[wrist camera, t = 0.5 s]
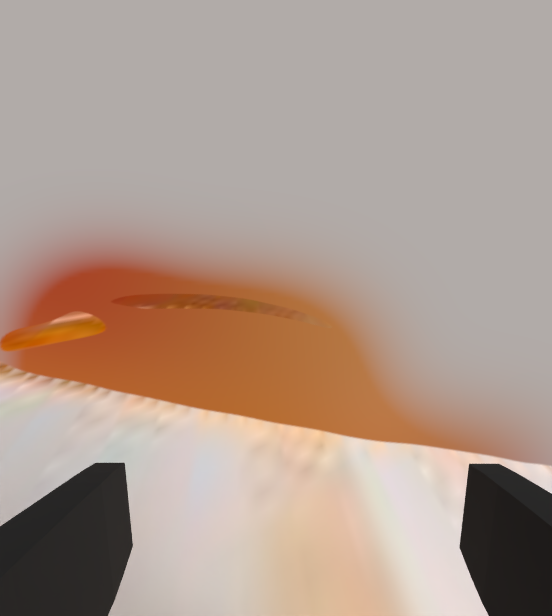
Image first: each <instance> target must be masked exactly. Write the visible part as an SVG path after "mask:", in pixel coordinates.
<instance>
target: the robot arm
mask: <svg viewBox="0 0 552 616" xmlns="http://www.w3.org/2000/svg"><path fill="white" fill-rule="evenodd" d="M132 546H133V544H132V533H131V523H130V513H129V503H128V492H127V482H126V472H125V463H95V464H93V465H91V466H90V467H88V468H86V469H85V470H83V471H82V472H80V473H79V474H77V475H76V476H74V477H72V478H71V479H69V480H68V481H67V482H65V483H64V484H62V485H61V486H59V487H58V488H56V489H55V490H53V491H52V492H50V493H49V494H47V495H46V496H45V497H43V498H42V499H40V500H39V501H37V502H36V503H34V504H33V505H31V506H30V507H28V508H27V509H25V510H24V511H22V512H21V513H19V514H18V515H16V516H15V517H14V518H12V519H11V520H9V521H8V522H6V523H5V524H3V525H2V526H0V616H108V614H109V611H110V609H111V607H112V605H113V602H114V600H115V597H116V594H117V592H118V589H119V586H120V583H121V580H122V577H123V574H124V571H125V568H126V565H127V562H128V559H129V556H130V553H131V550H132ZM460 550H461V552H462V555H463V557H464V560H465V562H466V565H467V568H468V570H469V573H470V575H471V578H472V580H473V582H474V585H475V587H476V589H477V592H478V594H479V596H480V599H481V601H482V603H483V605H484V607H485V609H486V611H487V613H488V615H489V616H552V494H551V493H549V492H548V491H546V490H544V489H543V488H541V487H539V486H538V485H536V484H534V483H533V482H531V481H529V480H527V479H526V478H524V477H522V476H521V475H519V474H517V473H515V472H513V471H512V470H510V469H508V468H506V467H504V466H502V465H500V464H469V470H468V479H467V487H466V496H465V505H464V514H463V522H462V531H461V540H460Z"/></svg>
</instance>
